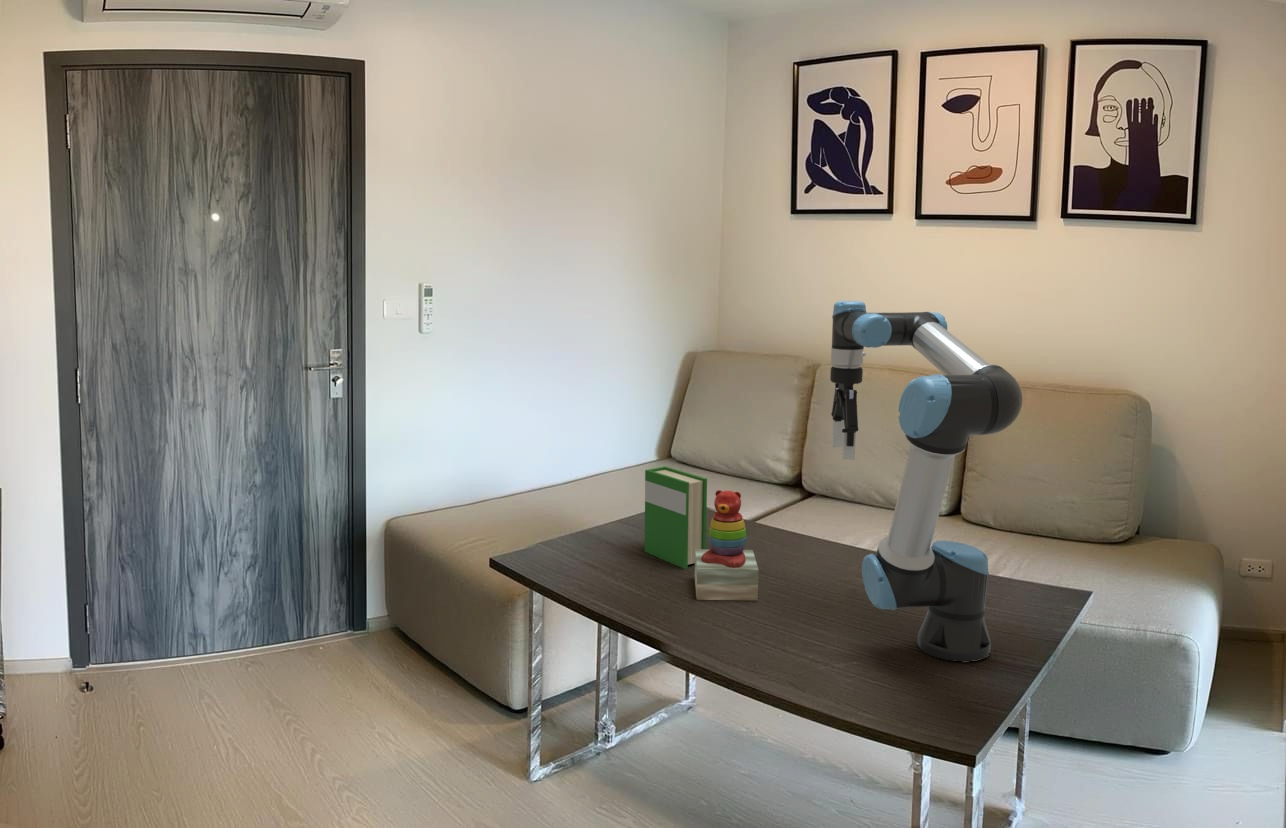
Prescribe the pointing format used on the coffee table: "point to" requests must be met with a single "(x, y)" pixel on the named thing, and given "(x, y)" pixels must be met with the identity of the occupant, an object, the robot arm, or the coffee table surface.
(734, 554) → the stacking bear
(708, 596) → the tower base
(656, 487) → the hardback book
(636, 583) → the coffee table surface
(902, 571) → the robot arm
